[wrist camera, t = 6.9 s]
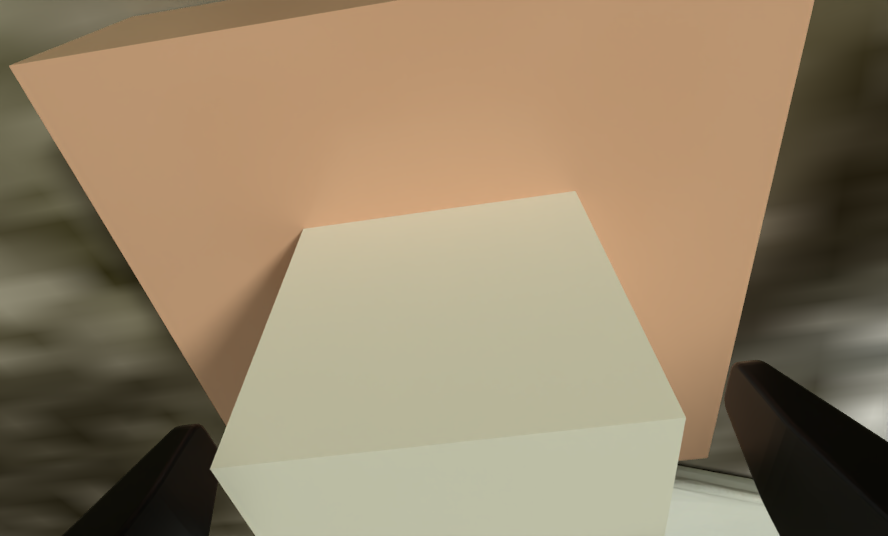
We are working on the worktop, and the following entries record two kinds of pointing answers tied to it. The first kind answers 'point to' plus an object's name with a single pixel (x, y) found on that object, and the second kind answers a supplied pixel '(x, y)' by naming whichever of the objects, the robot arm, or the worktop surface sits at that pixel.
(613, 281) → the block
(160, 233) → the stand
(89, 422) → the worktop surface
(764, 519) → the salad plate
